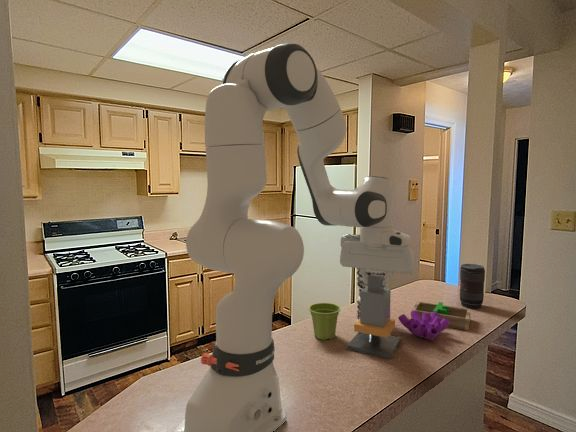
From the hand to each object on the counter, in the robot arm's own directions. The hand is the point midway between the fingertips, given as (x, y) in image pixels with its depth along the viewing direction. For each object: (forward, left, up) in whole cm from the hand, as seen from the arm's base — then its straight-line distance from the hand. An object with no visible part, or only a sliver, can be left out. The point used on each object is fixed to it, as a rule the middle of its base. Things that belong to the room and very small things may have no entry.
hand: (375, 285), depth 101 cm
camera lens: (+49, -22, -18) cm, 56 cm away
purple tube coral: (+14, -11, -18) cm, 25 cm away
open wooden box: (+29, -14, -17) cm, 37 cm away
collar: (0, 0, -12) cm, 12 cm away
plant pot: (-1, +15, -18) cm, 23 cm away
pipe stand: (0, 0, -17) cm, 17 cm away
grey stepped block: (0, 0, -10) cm, 10 cm away
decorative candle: (+16, +6, -18) cm, 24 cm away
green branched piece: (+29, -14, -17) cm, 37 cm away
